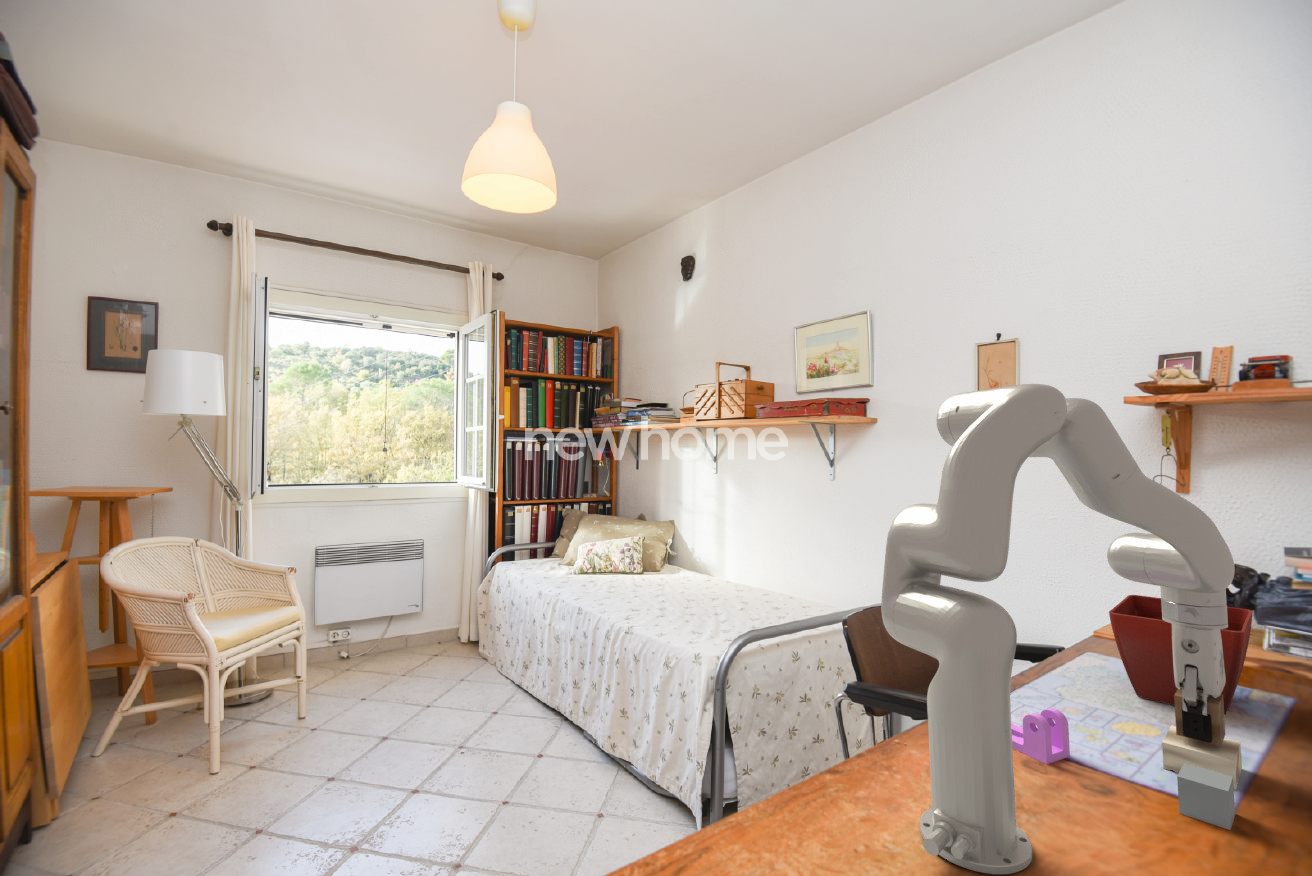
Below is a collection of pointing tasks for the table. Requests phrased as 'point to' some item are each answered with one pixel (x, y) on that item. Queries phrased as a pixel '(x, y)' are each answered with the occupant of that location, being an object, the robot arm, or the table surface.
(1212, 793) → the grey block
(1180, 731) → the walnut block
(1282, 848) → the table surface
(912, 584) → the robot arm
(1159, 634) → the plant pot
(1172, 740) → the birch block
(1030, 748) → the bracket
